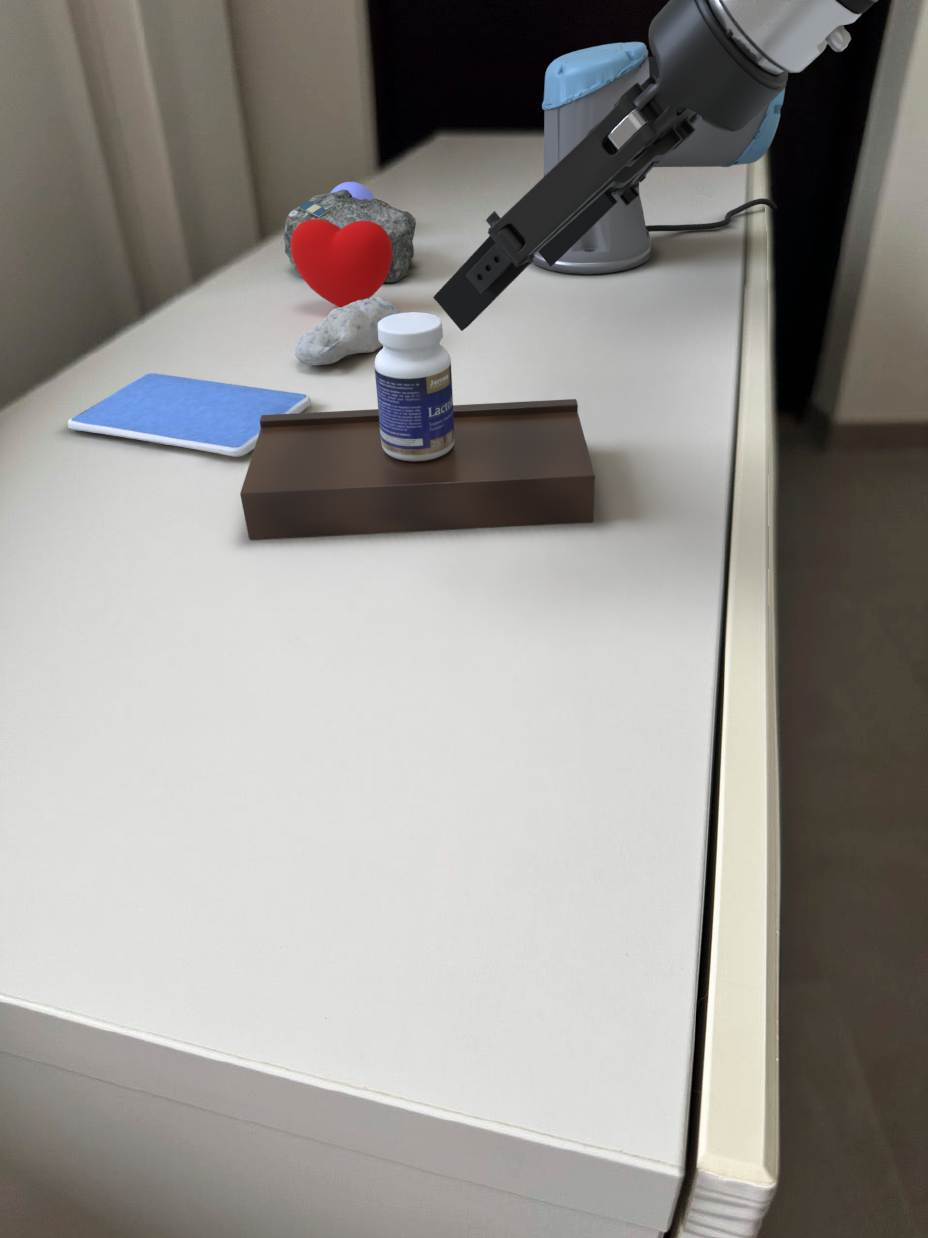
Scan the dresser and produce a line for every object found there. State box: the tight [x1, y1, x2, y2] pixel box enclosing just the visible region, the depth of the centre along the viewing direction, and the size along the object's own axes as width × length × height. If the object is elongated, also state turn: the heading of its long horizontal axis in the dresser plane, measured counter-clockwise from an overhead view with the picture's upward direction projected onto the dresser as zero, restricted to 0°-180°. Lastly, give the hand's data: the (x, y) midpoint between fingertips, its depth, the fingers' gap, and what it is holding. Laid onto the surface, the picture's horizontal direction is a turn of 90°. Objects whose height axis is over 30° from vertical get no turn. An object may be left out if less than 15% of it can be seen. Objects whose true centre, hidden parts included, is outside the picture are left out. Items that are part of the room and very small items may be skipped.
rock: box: [283, 190, 417, 283], centre depth 127 cm, size 18×14×10 cm
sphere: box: [330, 181, 376, 200], centre depth 140 cm, size 7×7×7 cm
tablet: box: [67, 372, 312, 458], centre depth 94 cm, size 19×13×1 cm, turn 67°
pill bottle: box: [374, 311, 455, 461], centre depth 76 cm, size 6×6×10 cm
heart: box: [291, 219, 392, 308], centre depth 114 cm, size 12×5×10 cm, turn 75°
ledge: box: [239, 398, 596, 540], centre depth 80 cm, size 26×12×5 cm, turn 92°
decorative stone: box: [295, 296, 401, 366], centre depth 105 cm, size 13×7×5 cm, turn 148°
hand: (497, 279), depth 68 cm, fingers open, 13 cm apart
